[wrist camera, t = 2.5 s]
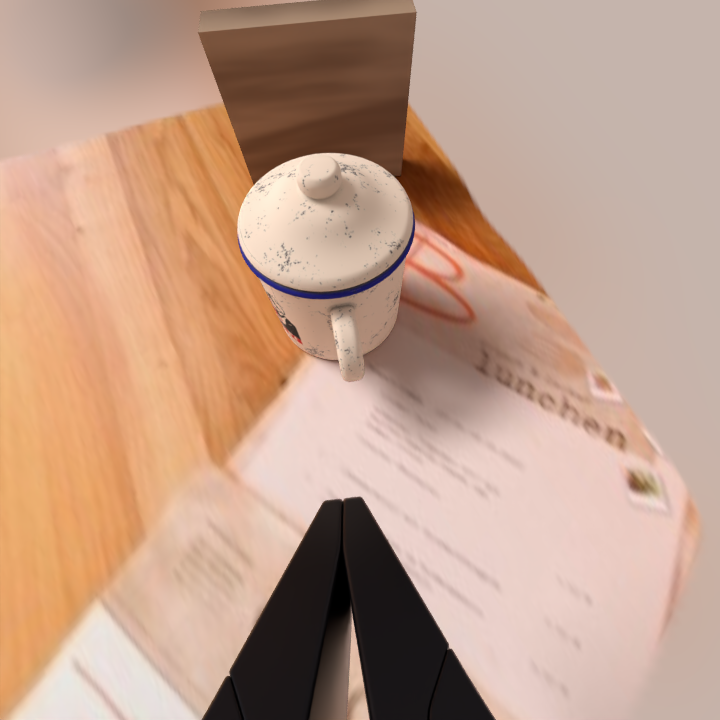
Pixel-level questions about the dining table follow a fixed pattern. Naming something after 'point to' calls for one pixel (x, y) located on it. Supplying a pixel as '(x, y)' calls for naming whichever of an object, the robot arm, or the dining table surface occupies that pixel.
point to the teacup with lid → (330, 252)
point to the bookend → (314, 78)
